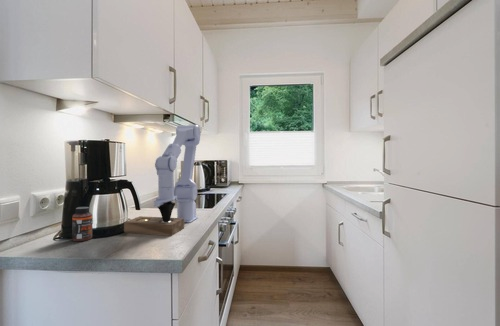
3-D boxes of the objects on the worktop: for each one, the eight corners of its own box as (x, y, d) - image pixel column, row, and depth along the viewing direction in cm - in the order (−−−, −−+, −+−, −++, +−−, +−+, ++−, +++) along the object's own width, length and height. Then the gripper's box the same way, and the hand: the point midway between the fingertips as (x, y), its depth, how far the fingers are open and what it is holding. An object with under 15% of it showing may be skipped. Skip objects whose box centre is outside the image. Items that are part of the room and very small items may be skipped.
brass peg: (142, 227, 106) (142, 218, 106) (150, 227, 105) (150, 219, 105) (136, 229, 102) (135, 221, 102) (145, 230, 101) (145, 221, 101)
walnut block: (140, 225, 110) (139, 216, 109) (184, 228, 106) (183, 218, 106) (124, 232, 100) (124, 222, 100) (172, 235, 96) (172, 224, 96)
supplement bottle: (82, 242, 88) (82, 209, 88) (68, 241, 89) (67, 208, 89) (96, 237, 94) (96, 206, 94) (82, 236, 95) (82, 205, 95)
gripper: (166, 184, 109) (166, 216, 109) (146, 188, 95) (146, 225, 95) (181, 185, 108) (182, 217, 108) (163, 189, 94) (163, 226, 94)
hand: (166, 221), depth 102 cm, fingers closed, pressing on steel peg
